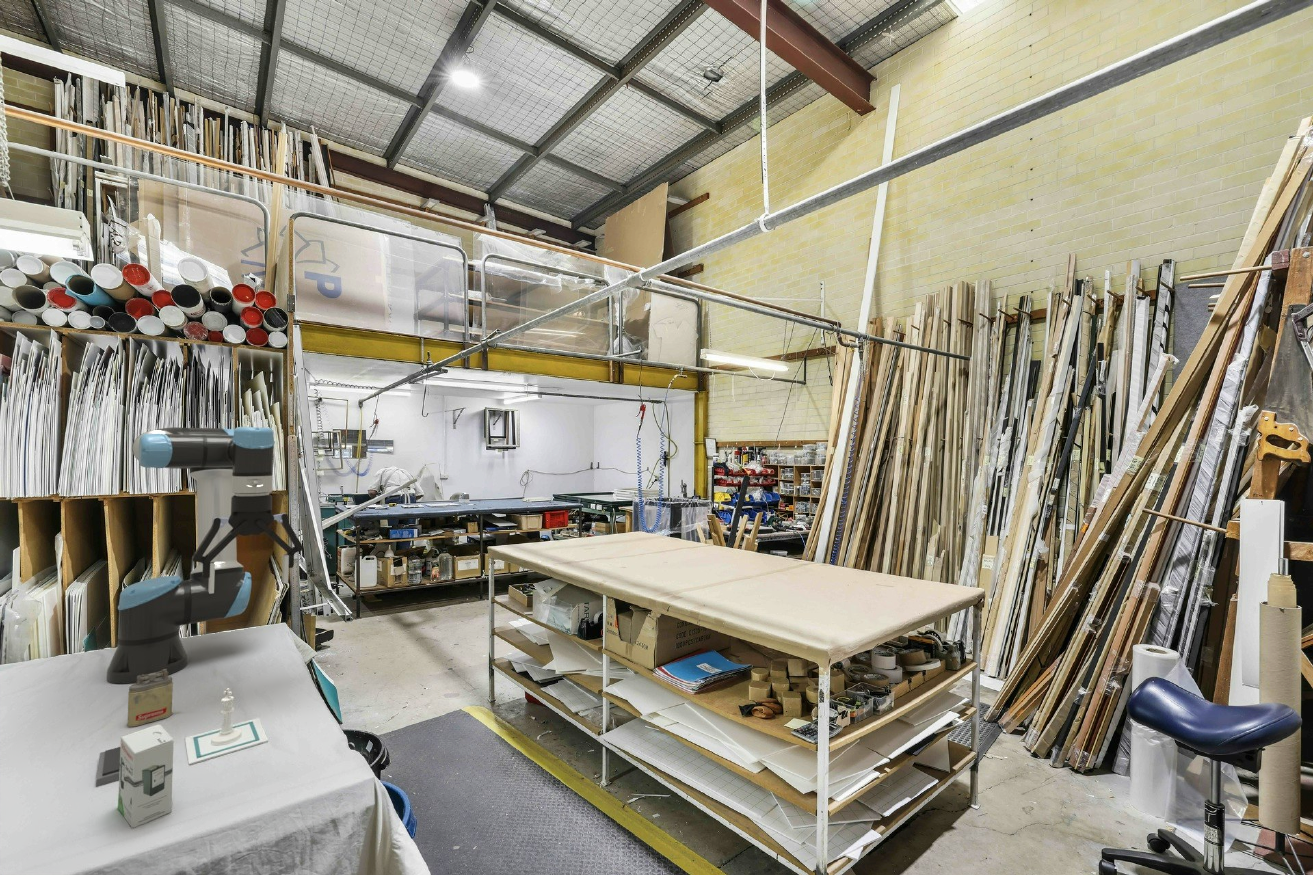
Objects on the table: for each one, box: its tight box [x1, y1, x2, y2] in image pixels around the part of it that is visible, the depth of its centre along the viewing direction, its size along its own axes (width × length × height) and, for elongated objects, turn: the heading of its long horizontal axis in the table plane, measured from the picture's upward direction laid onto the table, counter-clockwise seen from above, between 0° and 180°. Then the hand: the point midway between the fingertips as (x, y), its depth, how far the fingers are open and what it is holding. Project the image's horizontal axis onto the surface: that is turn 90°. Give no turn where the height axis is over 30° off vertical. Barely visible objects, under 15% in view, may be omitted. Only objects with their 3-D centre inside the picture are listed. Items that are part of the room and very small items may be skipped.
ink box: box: [117, 724, 175, 829], centre depth 88 cm, size 9×5×12 cm, turn 56°
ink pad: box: [95, 746, 121, 787], centre depth 100 cm, size 11×8×2 cm
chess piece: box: [211, 687, 242, 746], centre depth 108 cm, size 5×5×10 cm
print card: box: [184, 717, 269, 766], centre depth 108 cm, size 12×12×1 cm
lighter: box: [126, 669, 174, 728], centre depth 116 cm, size 7×4×10 cm, turn 140°
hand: (249, 587), depth 124 cm, fingers open, 13 cm apart
